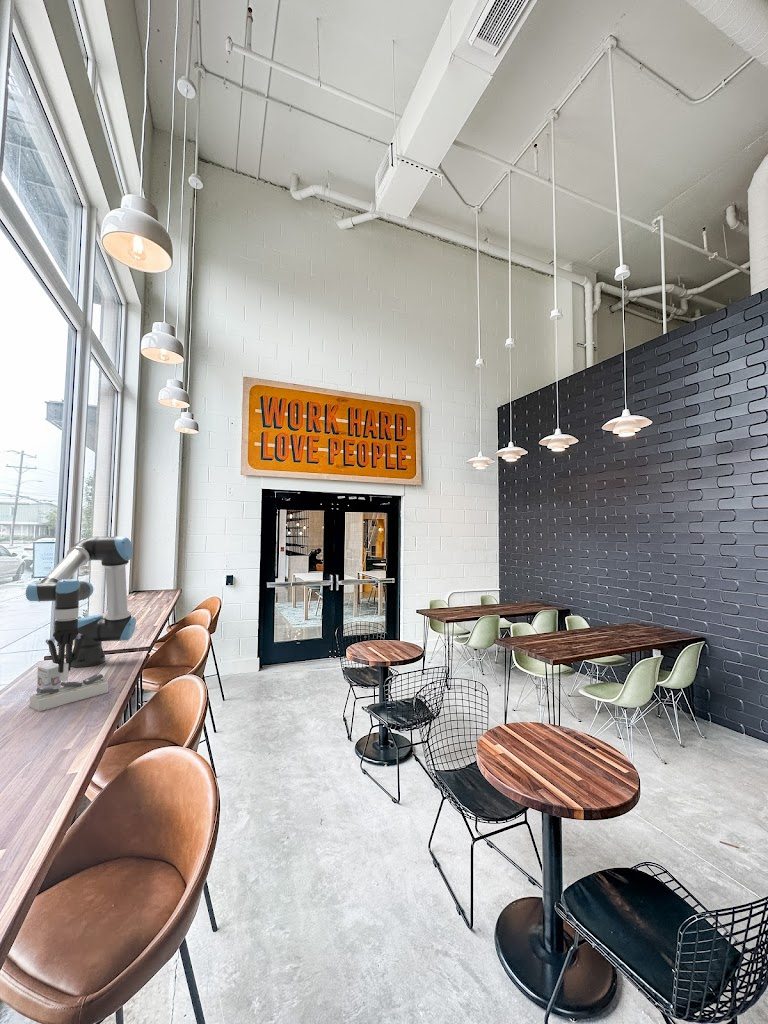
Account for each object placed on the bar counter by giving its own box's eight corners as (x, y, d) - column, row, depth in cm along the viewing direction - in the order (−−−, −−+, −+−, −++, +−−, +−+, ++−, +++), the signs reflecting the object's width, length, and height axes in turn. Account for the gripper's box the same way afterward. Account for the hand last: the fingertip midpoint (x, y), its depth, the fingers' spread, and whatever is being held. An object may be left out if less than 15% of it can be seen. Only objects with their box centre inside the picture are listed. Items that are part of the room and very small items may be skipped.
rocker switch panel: (98, 688, 188) (98, 677, 188) (108, 692, 184) (108, 680, 184) (29, 706, 168) (30, 694, 168) (38, 711, 163) (39, 698, 164)
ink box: (35, 695, 179) (37, 665, 180) (49, 691, 184) (51, 662, 184) (47, 699, 175) (48, 668, 176) (61, 695, 180) (62, 665, 180)
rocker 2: (76, 684, 179) (77, 681, 180) (81, 686, 177) (82, 683, 178) (60, 685, 174) (61, 681, 175) (64, 687, 172) (65, 683, 173)
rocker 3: (98, 675, 186) (98, 672, 186) (103, 677, 184) (102, 674, 184) (83, 683, 181) (82, 680, 181) (87, 684, 179) (86, 681, 179)
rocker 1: (53, 690, 173) (54, 687, 173) (57, 692, 171) (59, 688, 171) (36, 691, 168) (37, 687, 168) (40, 693, 166) (41, 689, 166)
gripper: (80, 615, 183) (78, 674, 181) (42, 620, 172) (40, 683, 170) (89, 617, 179) (87, 677, 177) (51, 622, 168) (48, 686, 166)
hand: (64, 680), depth 174 cm, fingers closed
